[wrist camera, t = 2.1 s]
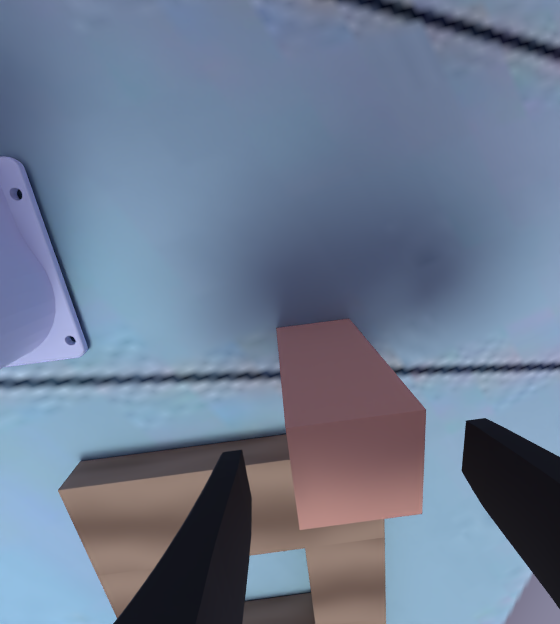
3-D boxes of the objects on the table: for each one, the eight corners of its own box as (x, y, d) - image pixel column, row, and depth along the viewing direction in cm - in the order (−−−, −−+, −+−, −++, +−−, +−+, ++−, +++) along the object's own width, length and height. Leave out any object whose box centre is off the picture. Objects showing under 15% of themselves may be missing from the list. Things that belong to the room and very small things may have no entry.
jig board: (80, 461, 18) (57, 490, 16) (370, 423, 18) (383, 447, 16) (166, 667, 24) (157, 705, 23) (377, 638, 25) (386, 673, 23)
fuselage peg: (276, 327, 16) (285, 428, 8) (349, 318, 16) (425, 409, 8) (284, 391, 17) (299, 530, 9) (352, 382, 17) (421, 513, 9)
